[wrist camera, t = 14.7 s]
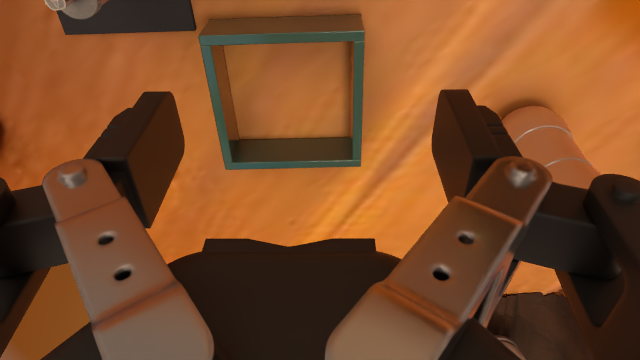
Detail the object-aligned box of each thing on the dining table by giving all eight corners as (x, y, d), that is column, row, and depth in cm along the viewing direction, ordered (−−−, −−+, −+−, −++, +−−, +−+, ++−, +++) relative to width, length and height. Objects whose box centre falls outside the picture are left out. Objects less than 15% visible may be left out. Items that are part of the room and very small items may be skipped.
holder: (208, 19, 37) (198, 35, 33) (360, 14, 36) (364, 30, 33) (232, 146, 44) (225, 170, 41) (358, 143, 44) (360, 167, 41)
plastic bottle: (489, 163, 45) (580, 337, 29) (483, 107, 41) (583, 272, 25) (556, 147, 44) (687, 319, 28) (555, 88, 40) (708, 248, 24)
